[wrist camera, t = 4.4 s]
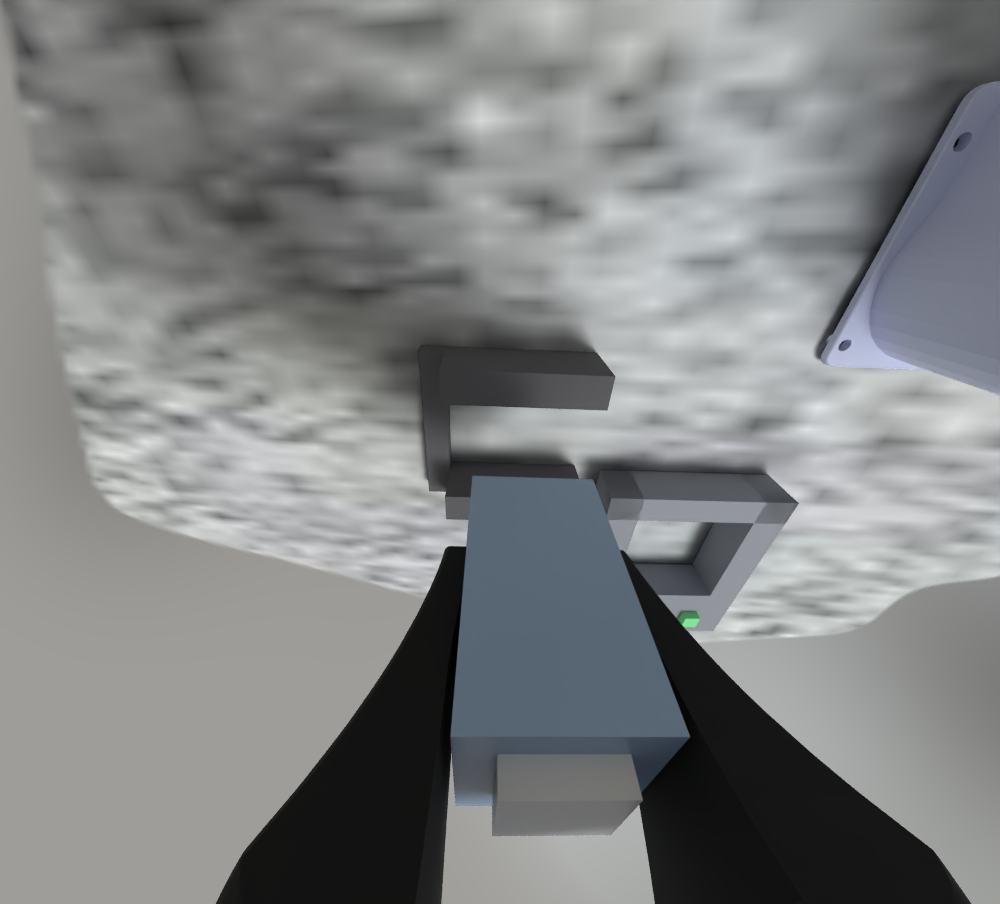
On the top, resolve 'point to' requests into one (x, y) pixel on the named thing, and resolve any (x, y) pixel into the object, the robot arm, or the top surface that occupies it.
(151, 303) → the top surface
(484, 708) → the plug
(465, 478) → the holster
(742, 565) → the frame
